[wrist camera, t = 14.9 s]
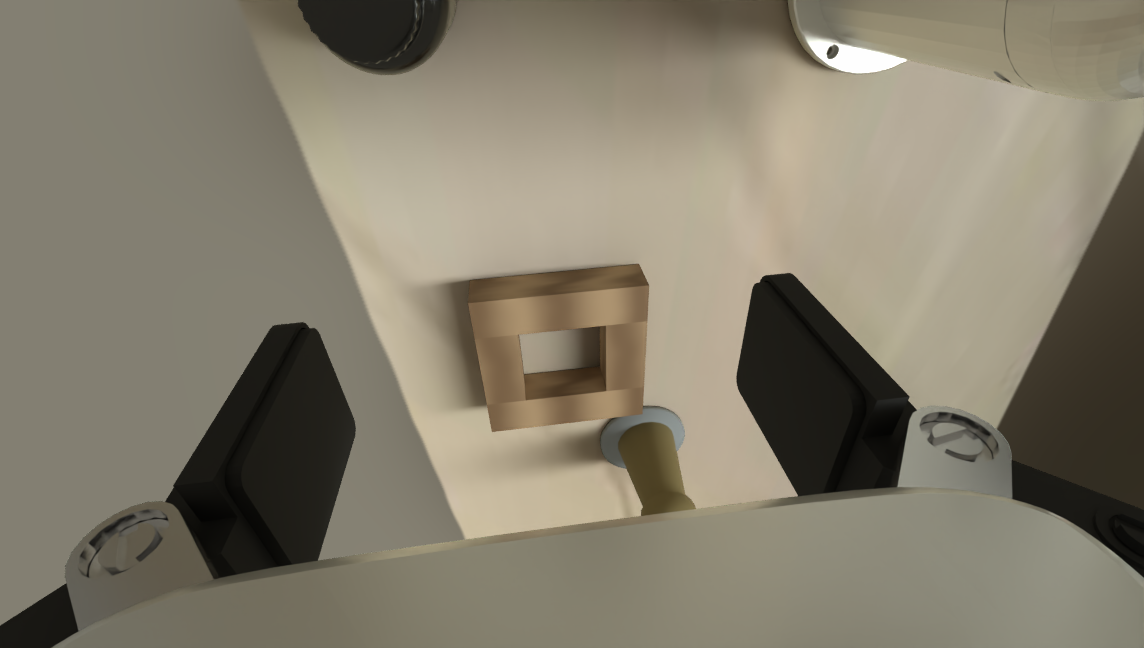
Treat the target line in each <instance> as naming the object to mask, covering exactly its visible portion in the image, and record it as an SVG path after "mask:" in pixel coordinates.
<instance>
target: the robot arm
mask: <svg viewBox="0 0 1144 648" xmlns="http://www.w3.org/2000/svg"><path fill="white" fill-rule="evenodd" d="M788 7H789V16H790V19H791V22H792V25H793V29H794V32H795V34H796V36H797V38H798V40H799V41H800V43H801V45H802V46H803V48H804V49H805V50H806V51H807V52H808V53H809V54H810V55H811V57H812V58H813V59H814V60H816V61H818V62H819V63H821V64H823V65H824V66H826V67H828V68H831V69H834V70H837V71H839V72H844V73H850V74H871V73H876V72H880V71H883V70H887V69H890V68H893V67H895V66H897V65H899V64H901V63H903V62H905V61H907V60H910V61H914V62H918V63H922V64H927V65H931V66H935V67H939V68H944V69H948V70H952V71H956V72H960V73H965V74H969V75H973V76H977V77H982V78H986V79H990V80H994V81H998V82H1003V83H1007V84H1011V85H1015V86H1020V87H1024V88H1028V89H1032V90H1037V91H1041V92H1045V93H1051V94H1056V95H1060V96H1064V97H1069V98H1075V99H1081V100H1089V101H1119V100H1128V99H1135V98H1142V97H1144V0H788ZM828 48H829V50H828V52H827V53H826V51H827V49H828ZM737 386H738V390H739V392H740V394H741V395H742V397H743V399H744V401H745V402H746V404H747V406H748V408H749V410H750V411H751V413H752V415H753V417H754V418H755V420H756V422H757V424H758V425H759V427H760V429H761V431H762V433H763V434H764V436H765V438H766V440H767V441H768V443H769V445H770V447H771V448H772V450H773V452H774V454H775V456H776V457H777V459H778V461H779V463H780V464H781V466H782V468H783V470H784V471H785V473H786V475H787V477H788V479H789V480H790V482H791V484H792V486H793V487H794V489H795V491H796V493H797V494H798V496H797V497H788V498H779V499H771V500H763V501H755V502H747V503H739V504H732V505H724V506H716V507H708V508H700V509H692V510H685V511H677V512H669V513H661V514H653V515H646V516H638V517H630V518H623V519H615V520H608V521H600V522H593V523H585V524H577V525H570V526H562V527H555V528H548V529H540V530H533V531H525V532H518V533H510V534H503V535H495V536H488V537H481V538H474V539H466V540H460V541H452V542H445V543H437V544H431V545H423V546H416V547H409V548H401V549H395V550H387V551H380V552H373V553H365V554H358V555H352V556H345V557H339V558H332V559H326V560H320V561H318V558H319V555H320V551H321V548H322V544H323V541H324V538H325V535H326V531H327V528H328V524H329V521H330V518H331V515H332V511H333V508H334V505H335V501H336V498H337V495H338V491H339V488H340V485H341V481H342V478H343V474H344V471H345V468H346V464H347V461H348V458H349V455H350V451H351V448H352V444H353V441H354V438H355V431H356V430H355V429H356V428H355V421H354V418H353V415H352V413H351V410H350V408H349V406H348V403H347V401H346V398H345V396H344V393H343V391H342V388H341V386H340V383H339V381H338V378H337V376H336V373H335V371H334V368H333V366H332V364H331V361H330V359H329V356H328V354H327V351H326V349H325V346H324V344H323V341H322V339H321V336H320V334H319V332H318V331H317V330H316V329H315V328H311V329H310V328H309V327H308V325H307V324H306V323H303V322H301V323H291V324H281V325H274V326H273V327H272V328H271V329H270V330H269V332H268V333H267V335H266V337H265V338H264V340H263V342H262V343H261V345H260V346H259V348H258V349H257V352H256V353H255V354H254V356H253V358H252V359H251V361H250V363H249V364H248V366H247V367H246V369H245V370H244V372H243V374H242V375H241V377H240V379H239V380H238V382H237V383H236V385H235V387H234V388H233V390H232V391H231V393H230V395H229V396H228V398H227V400H226V401H225V403H224V405H223V406H222V408H221V410H220V411H219V413H218V414H217V416H216V418H215V419H214V421H213V422H212V424H211V425H210V427H209V429H208V430H207V432H206V434H205V435H204V437H203V438H202V440H201V442H200V443H199V445H198V446H197V448H196V450H195V451H194V453H193V454H192V456H191V458H190V459H189V461H188V463H187V464H186V466H185V467H184V469H183V471H182V472H181V474H180V475H179V477H178V479H177V480H176V482H175V484H174V485H173V486H174V488H173V490H172V492H171V493H170V495H169V496H168V498H167V500H166V501H165V502H163V501H154V502H145V503H142V504H138V505H134V506H131V507H129V508H127V509H125V510H122V511H120V512H118V513H116V514H114V515H112V516H111V517H110V518H108V519H106V520H105V521H103V522H102V523H100V524H99V525H97V526H96V527H95V528H94V529H93V530H91V531H90V532H89V533H88V534H87V535H86V536H85V537H83V539H82V540H81V541H80V542H79V543H78V545H77V546H76V547H75V548H74V550H73V551H72V552H71V554H70V557H69V559H68V561H67V563H66V565H65V579H66V584H64V585H63V586H61V587H60V588H58V589H57V590H55V591H54V592H52V593H50V594H49V595H47V596H46V597H44V598H43V599H41V600H39V601H38V602H36V603H35V604H33V605H32V606H30V607H29V608H27V609H26V610H24V611H22V612H21V613H19V614H18V615H16V616H15V617H13V618H11V619H10V620H8V621H7V622H5V623H4V624H2V625H1V626H0V648H1144V510H1142V509H1140V508H1137V507H1135V506H1132V505H1130V504H1127V503H1124V502H1121V501H1119V500H1116V499H1113V498H1111V497H1108V496H1106V495H1103V494H1100V493H1097V492H1095V491H1093V490H1090V489H1087V488H1085V487H1082V486H1079V485H1077V484H1074V483H1071V482H1069V481H1066V480H1063V479H1061V478H1058V477H1056V476H1053V475H1050V474H1047V473H1045V472H1042V471H1040V470H1037V469H1034V468H1032V467H1029V466H1027V465H1024V464H1021V463H1019V462H1016V461H1013V460H1011V451H1010V447H1009V444H1008V442H1007V441H1006V440H1005V438H1004V437H1003V435H1001V433H1000V432H999V431H998V430H996V429H995V428H994V427H993V426H992V425H990V424H989V423H988V422H986V421H984V420H982V419H981V418H979V417H977V416H975V415H973V414H970V413H968V412H965V411H963V410H960V409H955V408H951V407H947V406H928V407H923V408H920V409H918V410H916V409H915V408H914V406H913V405H912V404H911V403H910V402H909V401H908V399H909V396H908V395H907V394H906V393H905V391H904V390H903V389H902V388H901V387H900V386H899V385H898V384H897V383H896V382H895V381H894V380H893V379H892V378H891V377H890V376H889V375H888V374H887V373H886V371H885V370H884V369H883V368H882V367H881V366H880V365H879V364H878V363H877V362H876V361H875V360H874V359H873V358H872V357H871V356H870V355H869V354H868V353H867V351H866V350H865V349H864V348H863V347H862V346H861V345H860V344H859V343H858V342H857V341H856V340H855V339H854V338H853V337H852V336H851V335H850V334H849V333H848V332H847V330H846V329H845V328H844V327H843V326H842V325H841V324H840V323H839V322H838V321H837V320H836V319H835V318H834V317H833V316H832V315H831V314H830V313H829V312H828V310H827V309H826V308H825V307H824V306H823V305H822V304H821V303H820V302H819V301H818V300H817V299H816V298H815V297H814V296H813V295H812V294H811V293H810V292H809V290H808V289H807V288H806V287H805V286H804V285H803V284H802V283H801V282H800V281H799V280H798V279H797V278H796V277H795V276H794V275H793V274H791V273H786V274H776V275H766V276H764V277H762V279H761V280H760V283H756V284H754V286H753V289H752V294H751V300H750V305H749V311H748V316H747V321H746V327H745V332H744V338H743V343H742V349H741V354H740V360H739V365H738V371H737Z"/></svg>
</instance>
